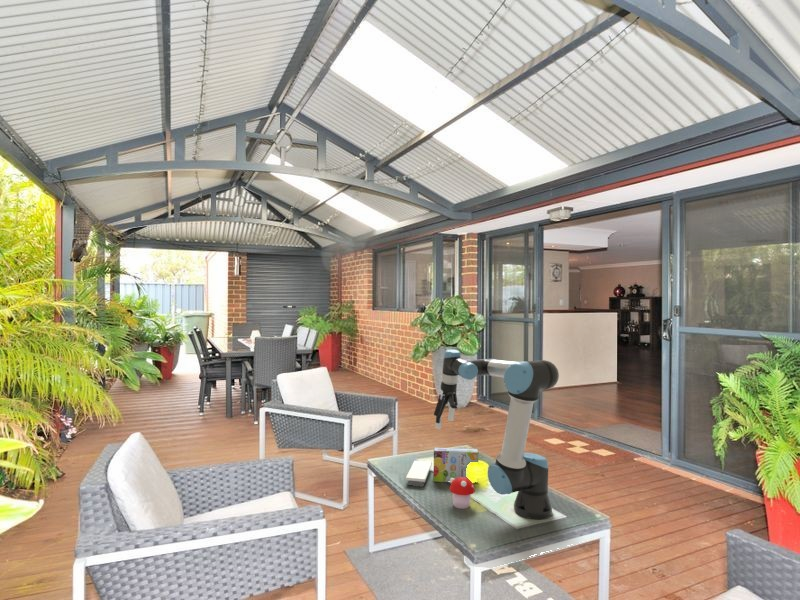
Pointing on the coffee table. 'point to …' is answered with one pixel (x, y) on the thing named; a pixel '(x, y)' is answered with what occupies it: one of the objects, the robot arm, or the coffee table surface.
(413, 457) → the coffee table surface
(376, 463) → the coffee table surface
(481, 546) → the coffee table surface
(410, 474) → the stand
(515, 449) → the robot arm
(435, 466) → the snack box
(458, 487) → the mushroom
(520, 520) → the coffee table surface
